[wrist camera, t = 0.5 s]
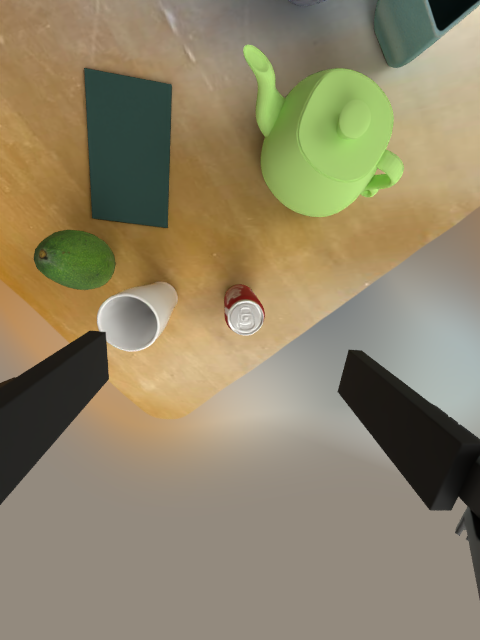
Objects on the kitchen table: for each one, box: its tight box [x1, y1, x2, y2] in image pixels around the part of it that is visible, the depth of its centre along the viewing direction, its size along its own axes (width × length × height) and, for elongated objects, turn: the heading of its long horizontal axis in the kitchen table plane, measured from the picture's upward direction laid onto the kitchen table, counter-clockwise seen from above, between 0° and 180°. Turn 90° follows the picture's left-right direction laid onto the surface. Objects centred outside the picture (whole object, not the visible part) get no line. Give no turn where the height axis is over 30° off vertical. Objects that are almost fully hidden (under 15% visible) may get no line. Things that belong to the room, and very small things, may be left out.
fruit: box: [34, 230, 115, 290], centre depth 32 cm, size 8×8×12 cm
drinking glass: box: [97, 282, 178, 351], centre depth 33 cm, size 7×7×15 cm
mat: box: [84, 68, 172, 228], centre depth 33 cm, size 18×11×1 cm, turn 173°
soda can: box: [224, 284, 265, 335], centre depth 35 cm, size 5×5×12 cm
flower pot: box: [374, 0, 480, 68], centre depth 28 cm, size 9×9×9 cm
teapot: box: [243, 45, 404, 217], centre depth 29 cm, size 22×15×13 cm
